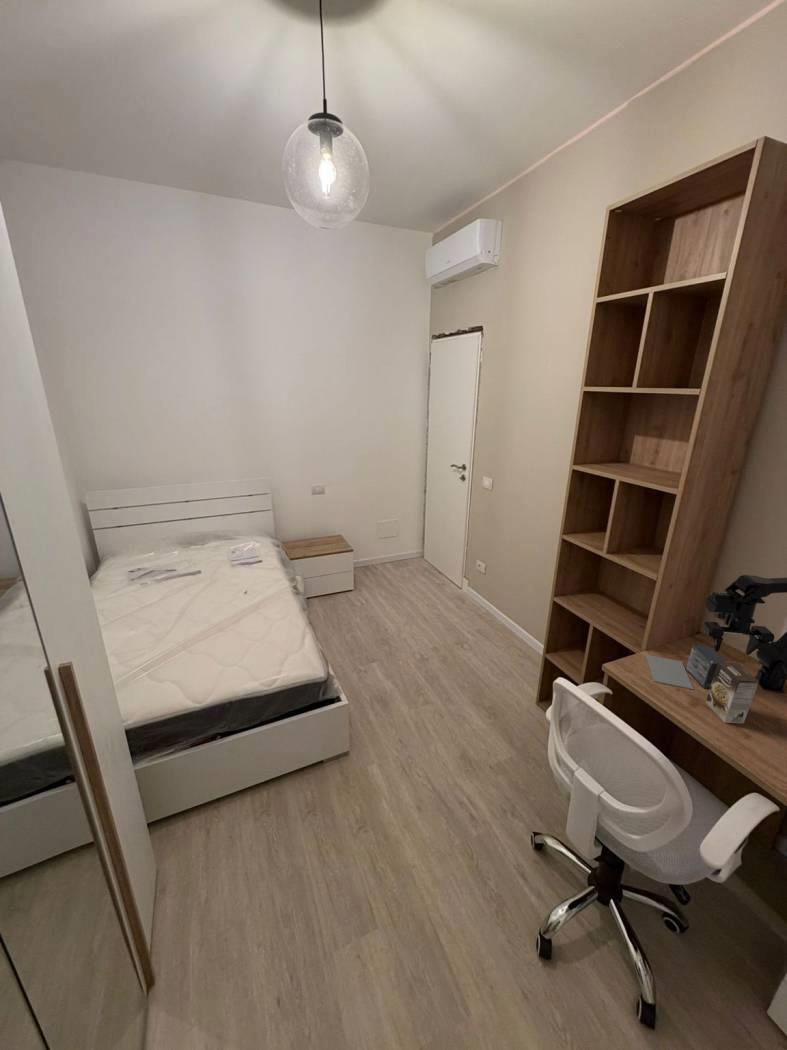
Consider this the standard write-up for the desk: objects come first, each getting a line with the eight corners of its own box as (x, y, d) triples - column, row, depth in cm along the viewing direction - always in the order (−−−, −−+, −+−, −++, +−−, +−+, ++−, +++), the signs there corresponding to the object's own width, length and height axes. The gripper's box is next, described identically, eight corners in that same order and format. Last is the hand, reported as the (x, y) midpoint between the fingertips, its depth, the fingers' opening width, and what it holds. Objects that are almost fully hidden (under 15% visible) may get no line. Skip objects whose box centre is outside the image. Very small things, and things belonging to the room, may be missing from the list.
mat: (681, 662, 158) (681, 661, 158) (693, 690, 144) (694, 689, 144) (645, 655, 162) (645, 654, 162) (654, 681, 148) (654, 680, 148)
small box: (722, 689, 144) (730, 663, 141) (703, 688, 145) (710, 663, 141) (702, 669, 154) (709, 645, 151) (684, 669, 155) (690, 644, 151)
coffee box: (704, 702, 139) (716, 661, 133) (724, 702, 138) (737, 661, 133) (724, 723, 130) (738, 680, 125) (745, 723, 130) (760, 681, 125)
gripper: (761, 603, 145) (749, 642, 150) (699, 598, 149) (690, 636, 154) (781, 620, 134) (768, 661, 139) (714, 614, 139) (704, 654, 144)
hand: (731, 652), depth 144 cm, fingers open, 9 cm apart
